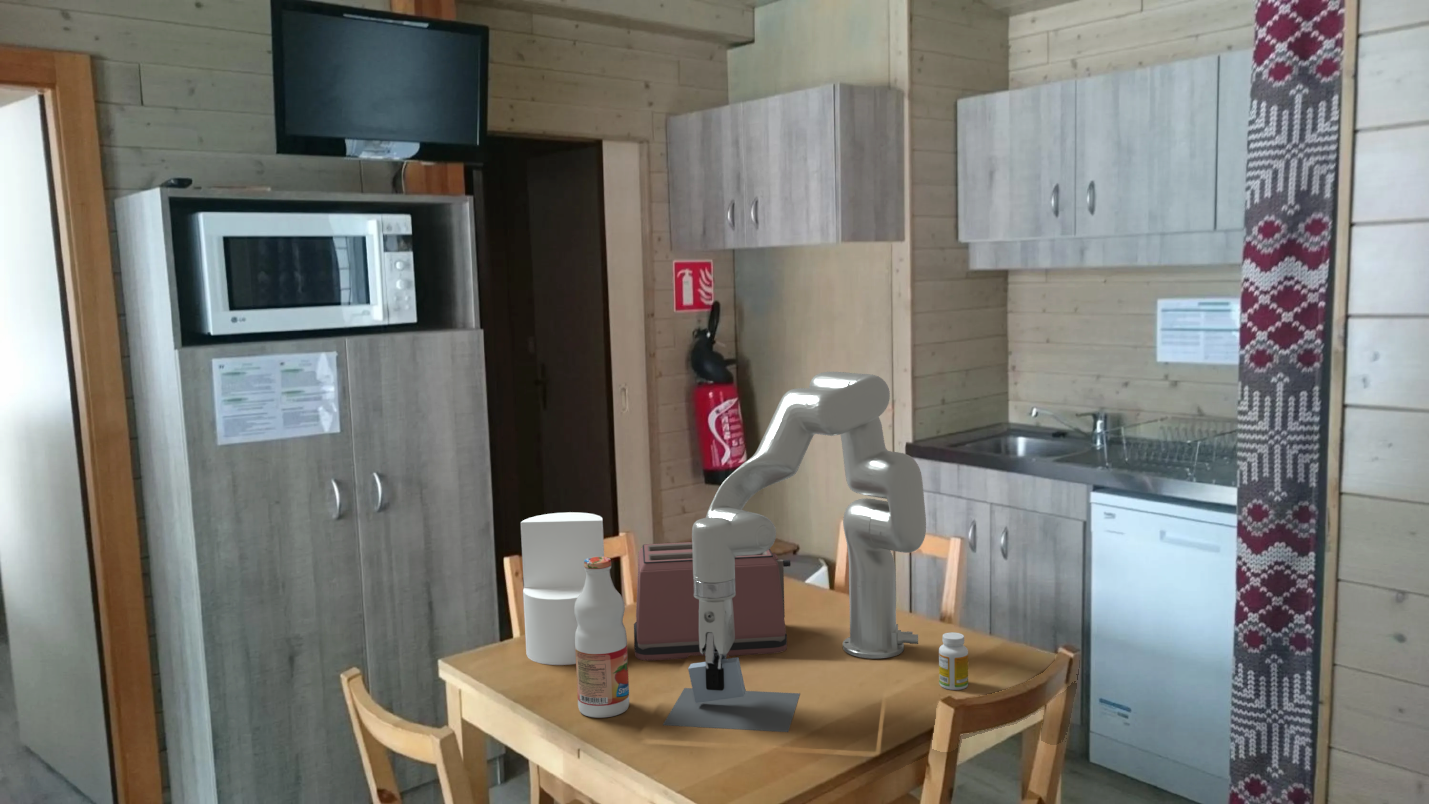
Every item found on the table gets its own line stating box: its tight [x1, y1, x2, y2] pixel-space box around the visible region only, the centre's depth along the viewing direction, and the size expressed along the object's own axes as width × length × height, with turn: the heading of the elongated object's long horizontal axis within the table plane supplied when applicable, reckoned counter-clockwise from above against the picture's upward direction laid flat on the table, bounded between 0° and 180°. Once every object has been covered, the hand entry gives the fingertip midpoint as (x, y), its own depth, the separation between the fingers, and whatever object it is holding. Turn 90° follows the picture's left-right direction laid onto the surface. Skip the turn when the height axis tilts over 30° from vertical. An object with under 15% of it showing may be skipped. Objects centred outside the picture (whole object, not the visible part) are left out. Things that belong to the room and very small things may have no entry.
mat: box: [662, 687, 801, 733], centre depth 194 cm, size 22×17×1 cm
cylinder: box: [520, 511, 605, 666], centre depth 228 cm, size 17×17×28 cm
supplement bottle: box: [938, 632, 969, 691], centre depth 203 cm, size 5×5×10 cm
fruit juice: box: [574, 556, 630, 719], centre depth 196 cm, size 9×9×28 cm
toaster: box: [633, 541, 791, 661], centre depth 231 cm, size 19×34×20 cm, turn 95°
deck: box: [687, 656, 747, 703], centre depth 195 cm, size 9×3×6 cm, turn 79°
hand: (716, 685), depth 195 cm, fingers closed on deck, 2 cm apart
